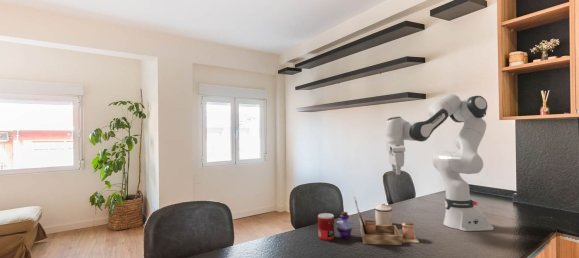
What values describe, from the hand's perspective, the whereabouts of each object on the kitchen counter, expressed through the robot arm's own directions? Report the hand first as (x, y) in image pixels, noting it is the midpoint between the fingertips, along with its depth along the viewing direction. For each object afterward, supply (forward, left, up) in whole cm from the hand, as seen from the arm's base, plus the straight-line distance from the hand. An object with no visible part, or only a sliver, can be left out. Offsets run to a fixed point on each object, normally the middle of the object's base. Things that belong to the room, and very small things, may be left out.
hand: (396, 173), depth 154 cm
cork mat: (-1, +17, -29) cm, 33 cm away
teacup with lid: (+7, -5, -29) cm, 30 cm away
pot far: (+16, +13, -28) cm, 35 cm away
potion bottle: (+28, +17, -29) cm, 44 cm away
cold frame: (+13, +17, -29) cm, 36 cm away
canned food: (+37, +19, -29) cm, 51 cm away
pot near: (-1, +16, -28) cm, 33 cm away
